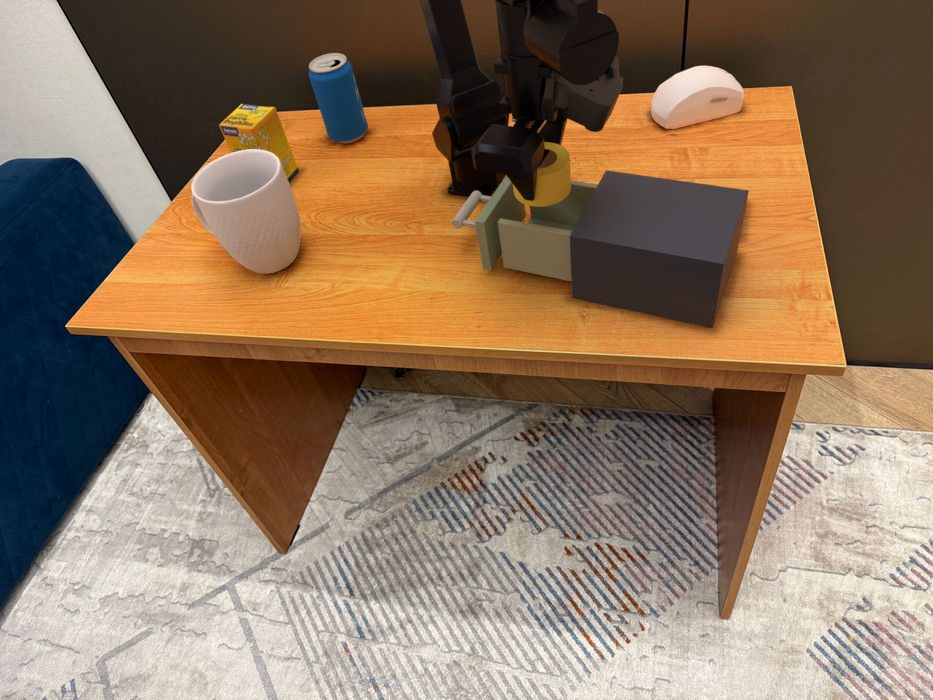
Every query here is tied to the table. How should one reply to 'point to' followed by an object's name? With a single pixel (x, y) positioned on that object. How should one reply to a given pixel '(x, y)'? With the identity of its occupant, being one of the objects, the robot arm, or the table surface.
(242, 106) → the supplement box
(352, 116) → the beverage can
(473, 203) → the drawer
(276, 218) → the mug
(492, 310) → the table surface
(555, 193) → the tape
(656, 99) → the computer mouse
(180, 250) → the table surface
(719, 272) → the cabinet
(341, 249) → the table surface
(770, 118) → the table surface
